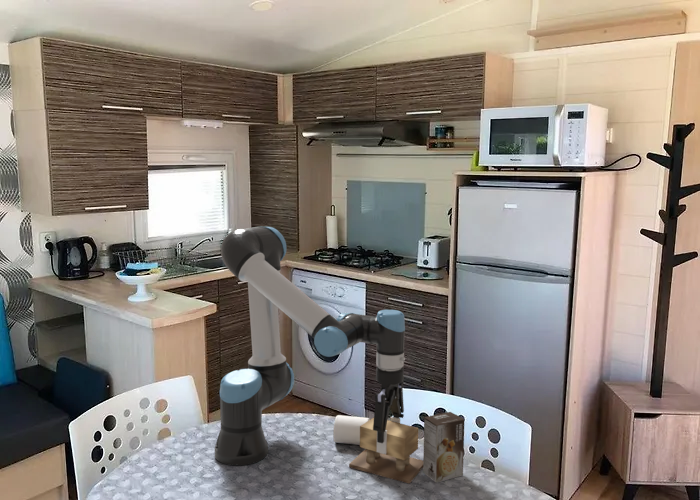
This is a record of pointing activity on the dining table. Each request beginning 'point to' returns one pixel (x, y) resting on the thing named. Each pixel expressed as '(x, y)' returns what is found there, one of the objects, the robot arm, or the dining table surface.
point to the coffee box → (443, 446)
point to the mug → (348, 429)
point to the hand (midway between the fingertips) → (388, 446)
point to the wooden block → (391, 438)
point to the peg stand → (387, 465)
